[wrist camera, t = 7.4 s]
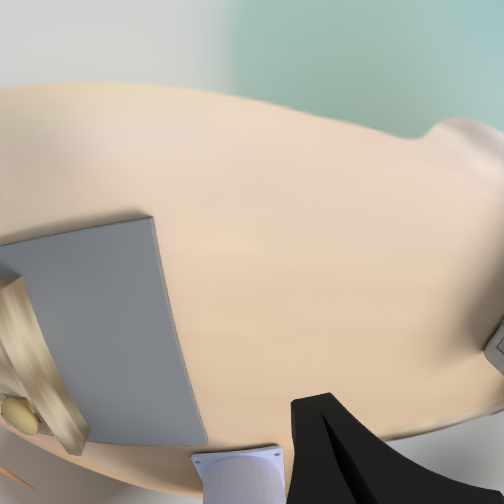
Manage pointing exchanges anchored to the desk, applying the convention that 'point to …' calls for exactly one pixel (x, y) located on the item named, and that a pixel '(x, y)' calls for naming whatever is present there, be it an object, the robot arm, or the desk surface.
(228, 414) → the desk surface
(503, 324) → the digital clock
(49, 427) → the panel
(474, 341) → the desk surface
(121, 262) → the keyhole board
